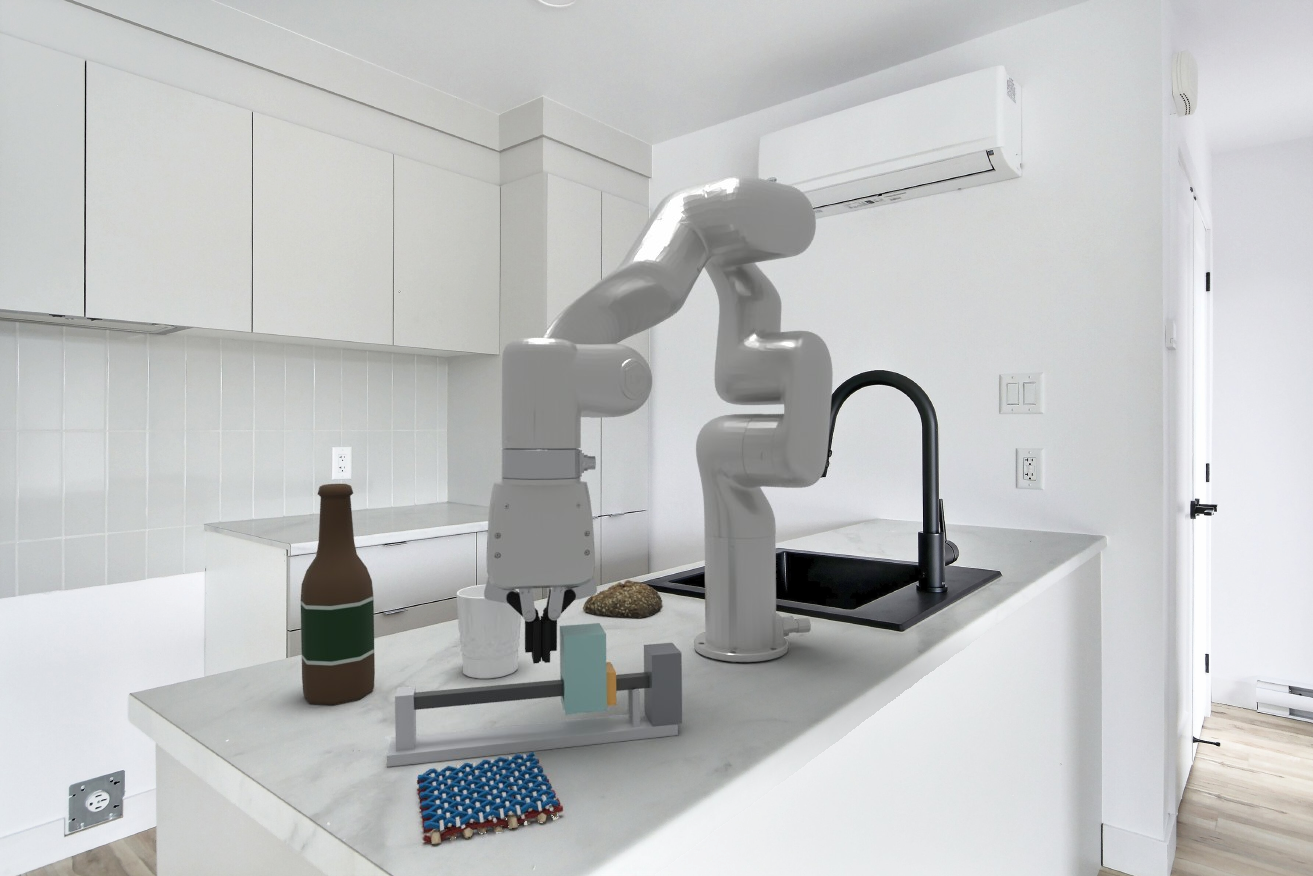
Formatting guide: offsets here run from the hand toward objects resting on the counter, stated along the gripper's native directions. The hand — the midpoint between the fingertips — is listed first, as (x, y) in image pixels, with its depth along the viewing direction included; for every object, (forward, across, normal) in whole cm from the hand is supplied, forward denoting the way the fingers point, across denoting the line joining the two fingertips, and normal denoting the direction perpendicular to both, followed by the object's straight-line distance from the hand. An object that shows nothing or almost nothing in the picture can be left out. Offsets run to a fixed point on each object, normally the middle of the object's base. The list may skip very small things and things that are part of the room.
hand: (540, 658), depth 72 cm
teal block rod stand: (+8, 0, 0) cm, 8 cm away
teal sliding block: (+5, -4, 0) cm, 6 cm away
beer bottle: (+8, +22, -19) cm, 30 cm away
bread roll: (+8, -18, -50) cm, 53 cm away
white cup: (+8, +4, -23) cm, 25 cm away
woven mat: (+9, +5, +10) cm, 15 cm away
